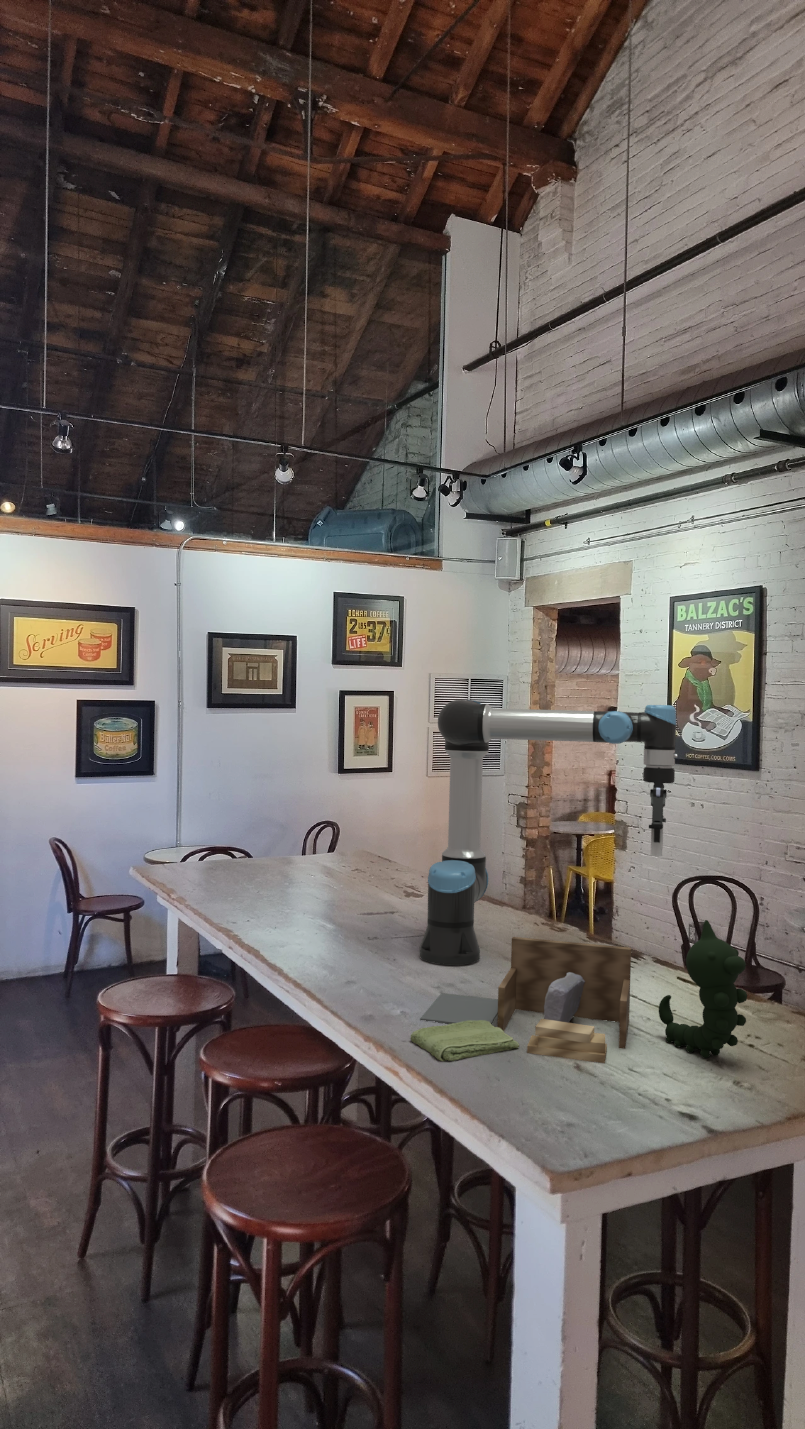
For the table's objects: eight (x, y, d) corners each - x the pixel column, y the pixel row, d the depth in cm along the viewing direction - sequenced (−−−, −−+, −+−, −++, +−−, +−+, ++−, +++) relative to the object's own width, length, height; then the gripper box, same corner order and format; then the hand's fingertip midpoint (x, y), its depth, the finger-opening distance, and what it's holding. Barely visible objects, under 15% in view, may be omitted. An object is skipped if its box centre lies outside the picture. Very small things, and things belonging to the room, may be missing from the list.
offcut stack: (527, 1055, 172) (527, 1027, 172) (531, 1044, 178) (532, 1017, 178) (604, 1065, 168) (605, 1036, 168) (606, 1053, 174) (607, 1025, 174)
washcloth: (522, 1052, 174) (523, 1035, 174) (441, 1067, 165) (442, 1049, 165) (483, 1030, 185) (484, 1013, 185) (405, 1043, 177) (406, 1026, 177)
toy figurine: (721, 1073, 165) (725, 932, 164) (642, 1039, 181) (645, 910, 181) (756, 1064, 169) (760, 926, 169) (676, 1031, 186) (680, 906, 186)
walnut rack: (497, 1033, 182) (499, 955, 182) (510, 1008, 198) (512, 936, 198) (625, 1048, 175) (627, 968, 175) (629, 1021, 191) (631, 947, 191)
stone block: (564, 1039, 180) (565, 987, 180) (541, 1033, 183) (542, 982, 182) (586, 1022, 190) (588, 973, 190) (564, 1017, 193) (565, 969, 193)
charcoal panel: (420, 1022, 187) (420, 1018, 187) (441, 996, 205) (441, 992, 205) (488, 1030, 183) (488, 1026, 183) (504, 1003, 201) (504, 999, 201)
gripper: (674, 770, 220) (672, 860, 220) (674, 764, 244) (672, 845, 244) (642, 768, 222) (639, 857, 222) (645, 763, 246) (642, 844, 246)
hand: (656, 851), depth 233 cm, fingers open, 13 cm apart
